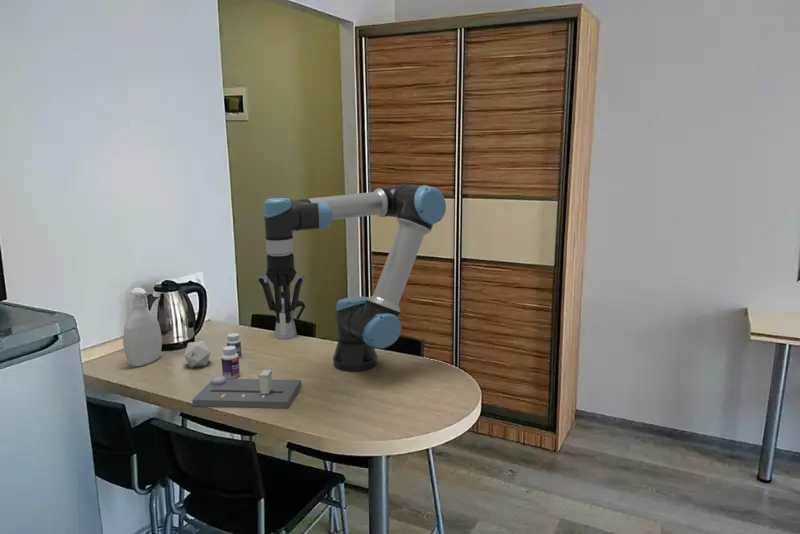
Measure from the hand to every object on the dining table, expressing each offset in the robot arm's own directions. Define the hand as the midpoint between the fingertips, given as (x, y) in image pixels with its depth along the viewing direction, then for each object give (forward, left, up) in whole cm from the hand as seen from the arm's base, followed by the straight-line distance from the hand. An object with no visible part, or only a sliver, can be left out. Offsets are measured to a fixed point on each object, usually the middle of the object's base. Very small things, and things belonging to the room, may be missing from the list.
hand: (284, 333), depth 172 cm
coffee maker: (+15, -58, -21) cm, 63 cm away
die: (+38, -26, -21) cm, 51 cm away
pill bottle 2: (+23, -17, -21) cm, 35 cm away
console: (+12, -2, -20) cm, 24 cm away
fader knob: (+6, 0, -18) cm, 19 cm away
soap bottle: (+57, -27, -21) cm, 67 cm away
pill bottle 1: (+28, -34, -21) cm, 49 cm away
